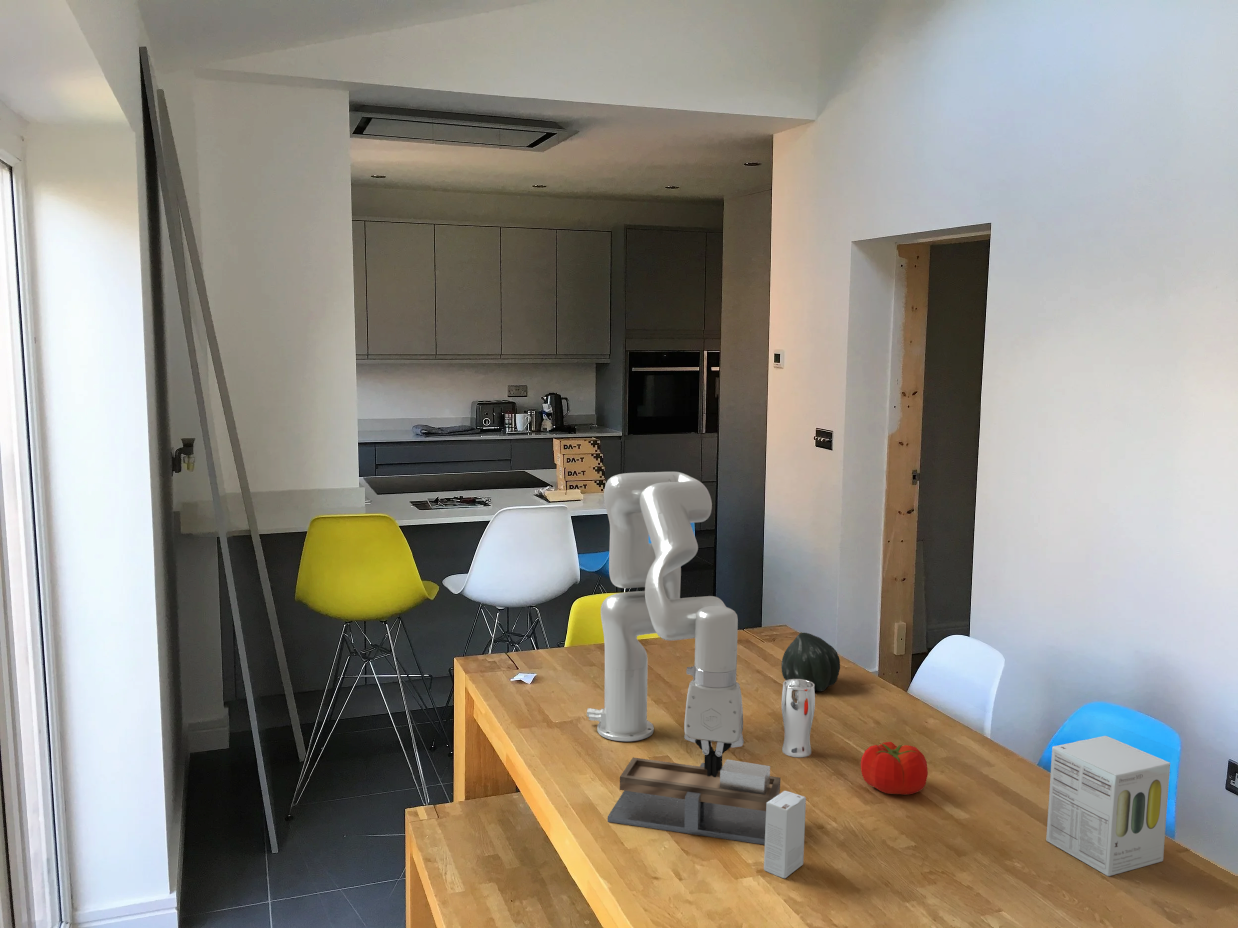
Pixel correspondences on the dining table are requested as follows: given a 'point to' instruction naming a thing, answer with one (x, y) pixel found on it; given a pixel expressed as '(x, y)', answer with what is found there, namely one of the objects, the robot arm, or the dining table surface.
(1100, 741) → the supplement box
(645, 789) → the long rimmed wooden tray
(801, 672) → the squash
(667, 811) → the pivot stand
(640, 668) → the robot arm
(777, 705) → the dining table surface
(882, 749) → the tomato
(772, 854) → the skincare box
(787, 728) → the beer glass
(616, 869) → the dining table surface
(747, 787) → the steel block
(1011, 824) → the dining table surface
